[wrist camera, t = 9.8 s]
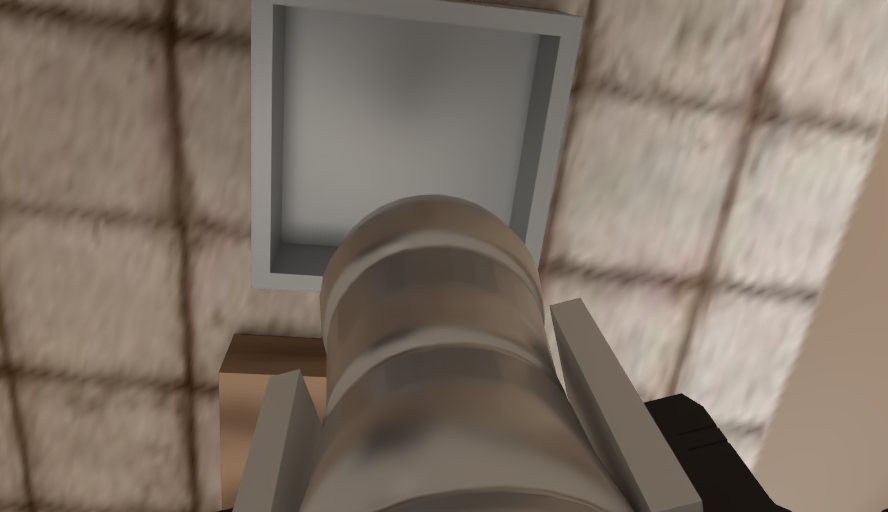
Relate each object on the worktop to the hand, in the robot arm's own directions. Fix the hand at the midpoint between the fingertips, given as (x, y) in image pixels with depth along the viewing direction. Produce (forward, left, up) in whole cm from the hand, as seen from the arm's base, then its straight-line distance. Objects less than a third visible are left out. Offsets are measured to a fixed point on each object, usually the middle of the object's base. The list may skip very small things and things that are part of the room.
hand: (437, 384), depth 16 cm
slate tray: (0, 0, -25) cm, 25 cm away
